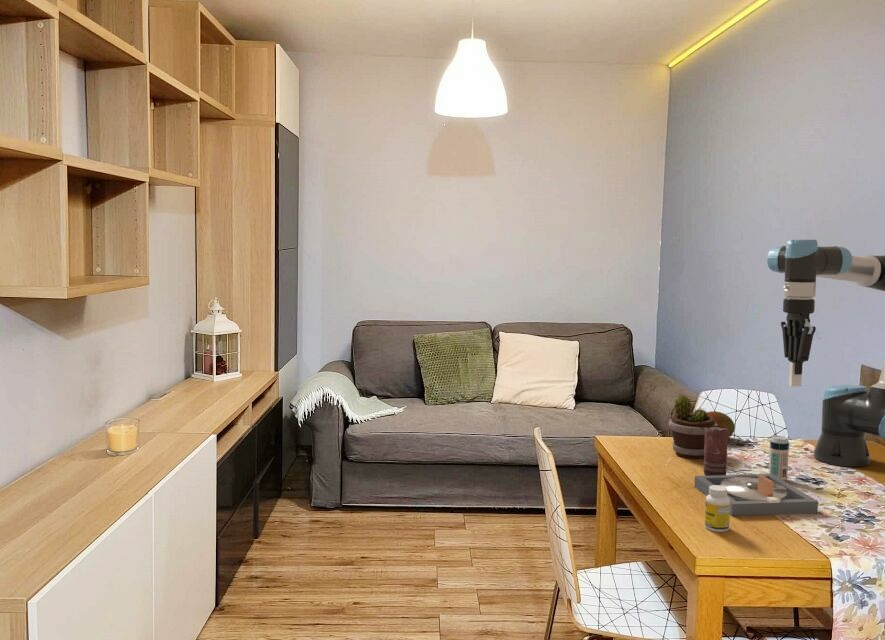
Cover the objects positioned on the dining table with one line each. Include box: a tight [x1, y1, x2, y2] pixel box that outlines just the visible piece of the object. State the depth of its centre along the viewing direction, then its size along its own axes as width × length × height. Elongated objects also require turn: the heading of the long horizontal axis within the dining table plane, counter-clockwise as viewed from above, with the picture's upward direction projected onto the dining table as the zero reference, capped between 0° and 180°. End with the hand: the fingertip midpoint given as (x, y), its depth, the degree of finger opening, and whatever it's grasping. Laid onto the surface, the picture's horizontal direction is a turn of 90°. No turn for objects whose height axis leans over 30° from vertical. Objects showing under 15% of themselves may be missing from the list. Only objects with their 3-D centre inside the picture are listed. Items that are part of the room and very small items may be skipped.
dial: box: [721, 476, 787, 501], centre depth 194 cm, size 16×16×6 cm
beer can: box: [768, 435, 790, 482], centre depth 210 cm, size 5×5×12 cm
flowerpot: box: [668, 392, 718, 459], centre depth 234 cm, size 14×15×20 cm
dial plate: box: [694, 473, 819, 517], centre depth 194 cm, size 22×22×4 cm
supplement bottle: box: [704, 485, 731, 533], centre depth 175 cm, size 5×5×10 cm
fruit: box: [705, 410, 736, 438], centre depth 252 cm, size 12×12×10 cm
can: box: [703, 426, 730, 476], centre depth 214 cm, size 6×6×14 cm
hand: (794, 385), depth 200 cm, fingers closed
